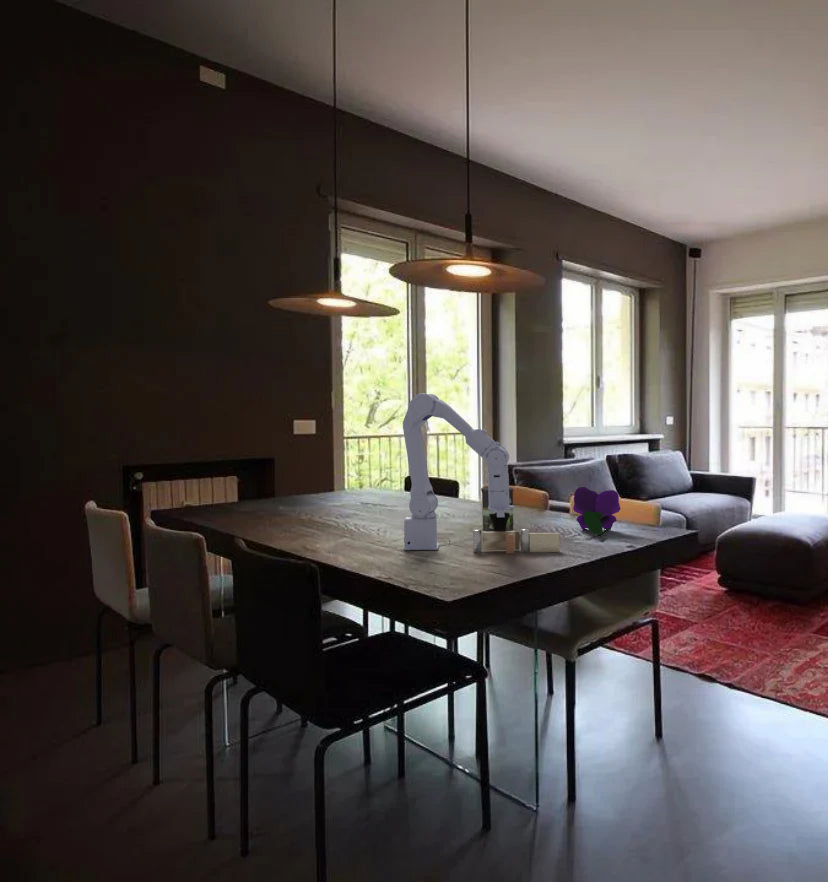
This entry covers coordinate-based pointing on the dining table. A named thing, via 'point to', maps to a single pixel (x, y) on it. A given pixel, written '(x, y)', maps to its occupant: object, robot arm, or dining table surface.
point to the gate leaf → (498, 540)
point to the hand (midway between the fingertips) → (500, 539)
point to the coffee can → (486, 520)
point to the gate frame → (524, 541)
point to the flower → (596, 509)
